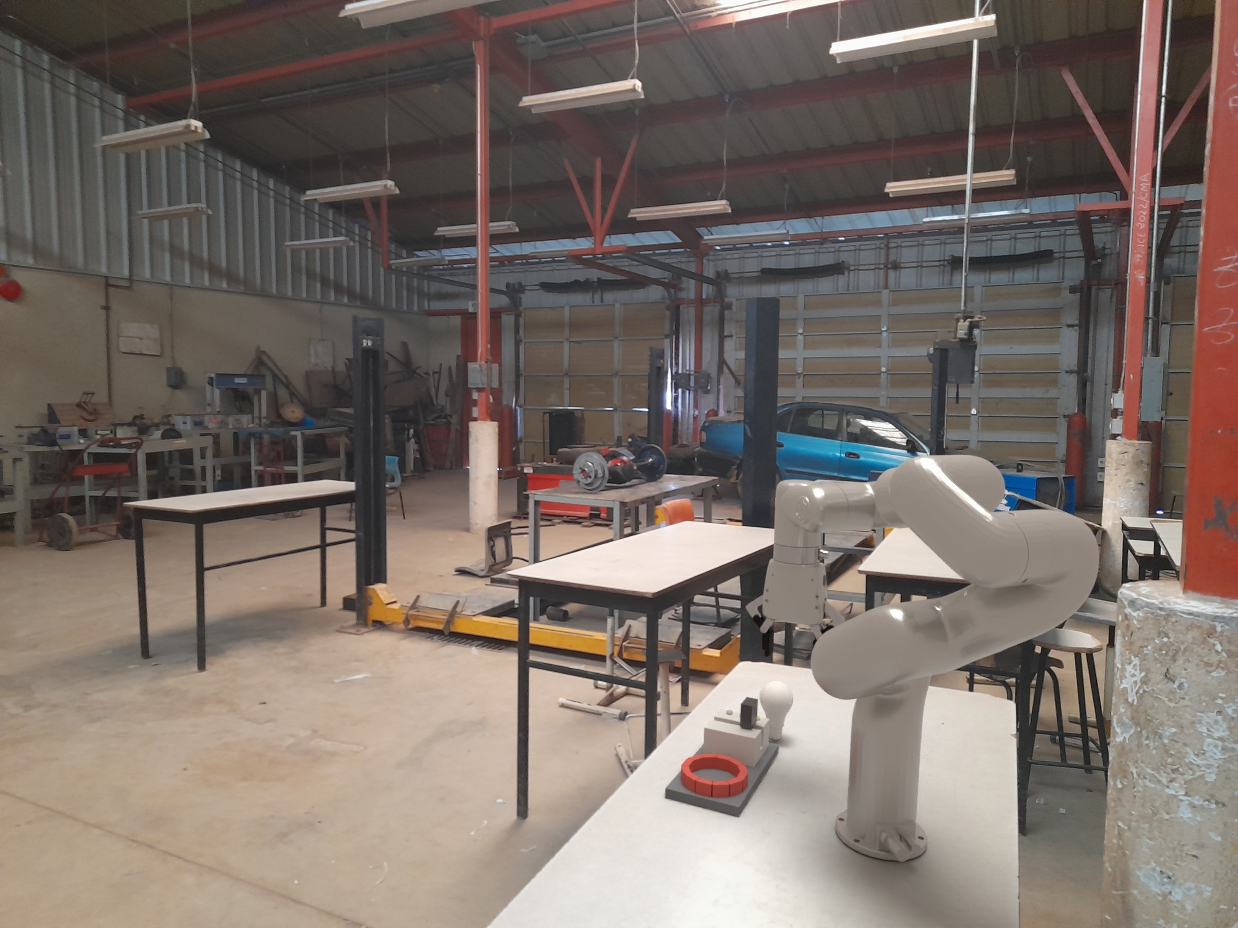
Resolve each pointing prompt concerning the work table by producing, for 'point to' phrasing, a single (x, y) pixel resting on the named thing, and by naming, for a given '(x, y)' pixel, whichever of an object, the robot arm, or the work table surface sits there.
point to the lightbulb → (776, 706)
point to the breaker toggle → (748, 712)
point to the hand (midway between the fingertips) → (792, 657)
